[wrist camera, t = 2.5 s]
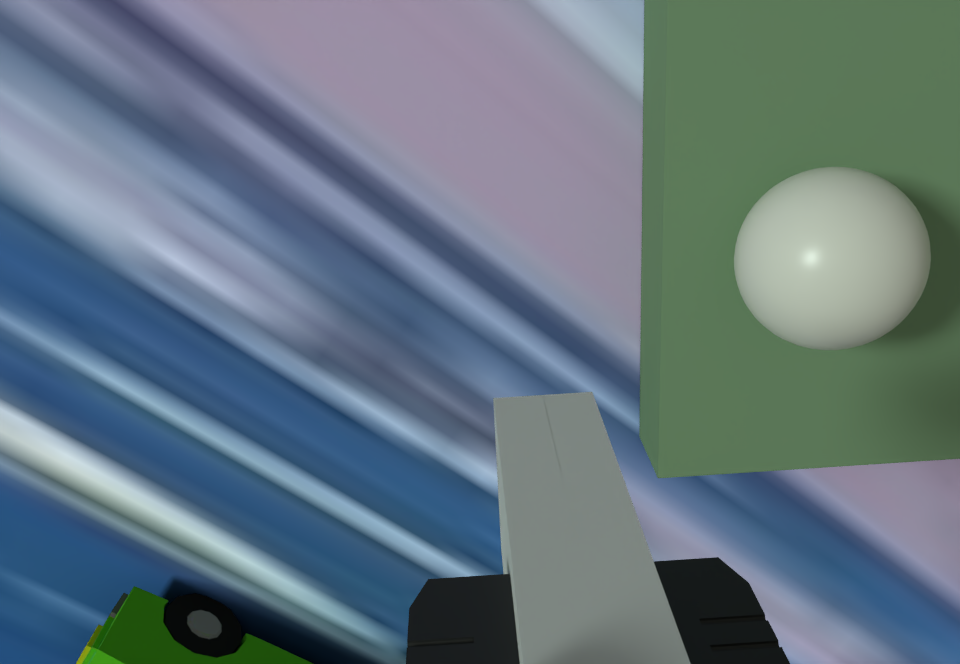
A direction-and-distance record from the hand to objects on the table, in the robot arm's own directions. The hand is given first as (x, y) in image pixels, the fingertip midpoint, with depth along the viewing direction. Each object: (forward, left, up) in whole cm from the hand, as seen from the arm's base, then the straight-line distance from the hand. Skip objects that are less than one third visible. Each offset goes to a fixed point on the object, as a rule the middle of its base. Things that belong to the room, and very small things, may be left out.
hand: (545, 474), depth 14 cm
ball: (0, -9, -11) cm, 14 cm away
